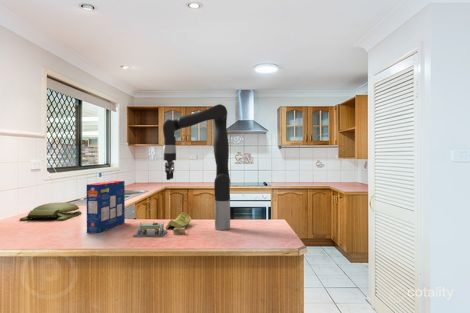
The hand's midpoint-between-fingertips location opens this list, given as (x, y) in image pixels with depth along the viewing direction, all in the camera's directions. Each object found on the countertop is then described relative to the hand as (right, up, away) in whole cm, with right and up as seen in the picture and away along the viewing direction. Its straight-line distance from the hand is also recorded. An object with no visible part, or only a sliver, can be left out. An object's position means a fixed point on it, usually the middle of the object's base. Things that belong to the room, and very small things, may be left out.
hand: (169, 179), depth 198 cm
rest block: (+8, -30, -13) cm, 34 cm away
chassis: (-8, -30, -14) cm, 34 cm away
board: (-8, -27, -14) cm, 31 cm away
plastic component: (+5, -31, +7) cm, 32 cm away
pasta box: (-40, -30, +4) cm, 50 cm away
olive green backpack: (-93, -31, +40) cm, 106 cm away
